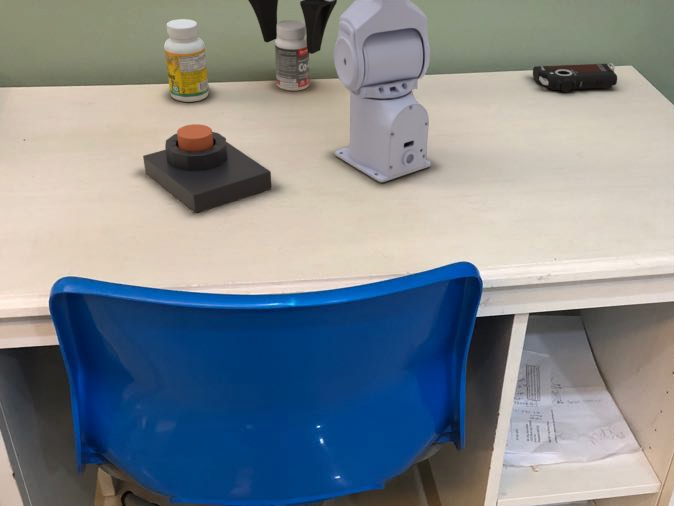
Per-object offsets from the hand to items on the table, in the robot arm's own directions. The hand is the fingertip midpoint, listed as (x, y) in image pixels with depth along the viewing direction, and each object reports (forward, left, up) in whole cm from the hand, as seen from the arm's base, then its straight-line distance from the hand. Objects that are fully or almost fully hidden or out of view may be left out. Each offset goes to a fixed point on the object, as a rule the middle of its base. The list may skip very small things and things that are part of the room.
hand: (291, 45), depth 121 cm
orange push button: (-17, +25, -2) cm, 30 cm away
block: (-19, +25, -6) cm, 32 cm away
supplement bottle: (+5, +14, -6) cm, 16 cm away
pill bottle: (0, 0, -6) cm, 6 cm away
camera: (-23, -34, -6) cm, 41 cm away
